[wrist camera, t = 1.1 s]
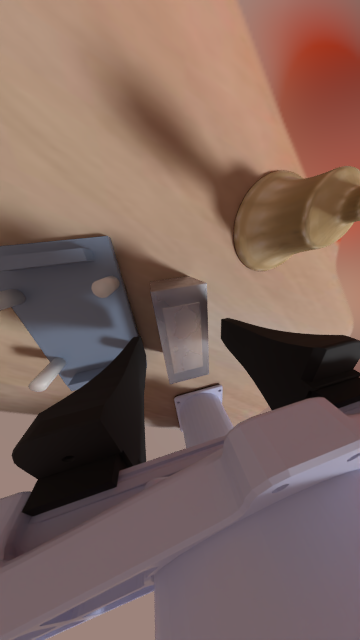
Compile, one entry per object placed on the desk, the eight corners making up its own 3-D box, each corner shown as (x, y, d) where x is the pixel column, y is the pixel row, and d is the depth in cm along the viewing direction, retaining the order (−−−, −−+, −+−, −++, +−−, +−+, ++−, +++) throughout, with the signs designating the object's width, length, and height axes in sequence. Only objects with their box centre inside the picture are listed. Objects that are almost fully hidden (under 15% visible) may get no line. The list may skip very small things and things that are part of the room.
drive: (194, 345, 18) (209, 374, 13) (164, 352, 17) (169, 384, 13) (188, 275, 14) (207, 283, 9) (150, 281, 13) (150, 292, 9)
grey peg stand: (146, 363, 17) (146, 388, 14) (71, 381, 16) (50, 414, 12) (110, 237, 11) (92, 227, 8) (-17, 249, 10) (-105, 244, 6)
